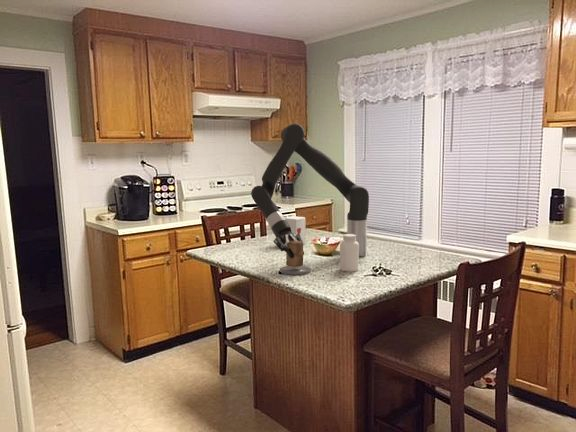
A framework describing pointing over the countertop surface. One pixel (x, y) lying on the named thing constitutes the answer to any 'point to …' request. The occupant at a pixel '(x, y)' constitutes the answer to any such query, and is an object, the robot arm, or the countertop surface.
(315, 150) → the robot arm
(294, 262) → the walnut block
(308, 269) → the disc
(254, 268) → the countertop surface
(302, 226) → the supplement box
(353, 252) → the pill bottle
